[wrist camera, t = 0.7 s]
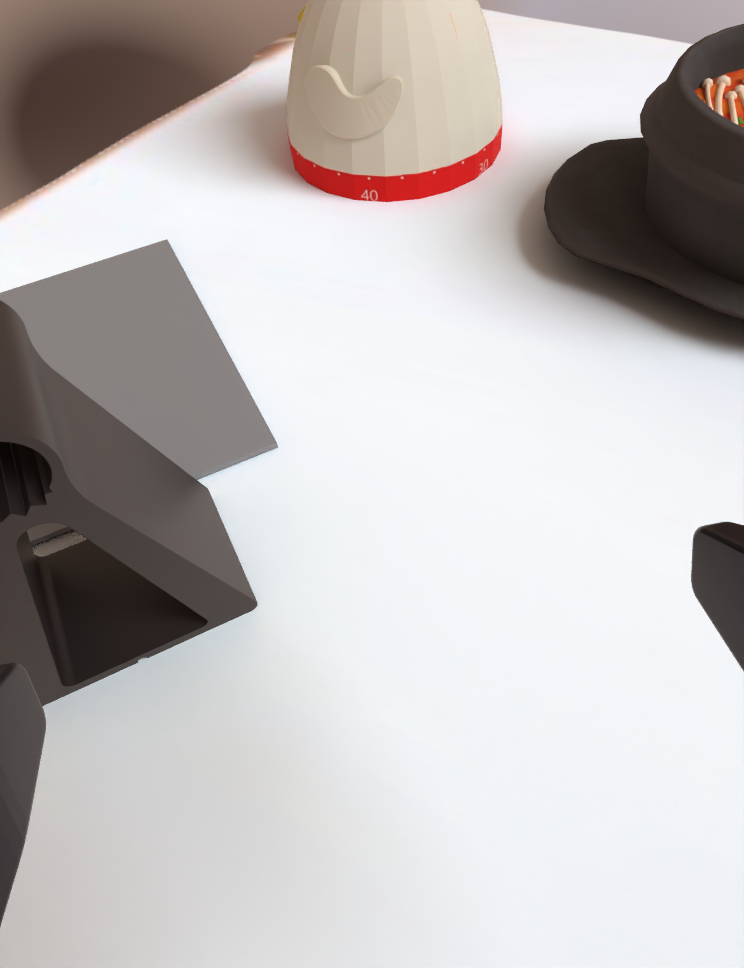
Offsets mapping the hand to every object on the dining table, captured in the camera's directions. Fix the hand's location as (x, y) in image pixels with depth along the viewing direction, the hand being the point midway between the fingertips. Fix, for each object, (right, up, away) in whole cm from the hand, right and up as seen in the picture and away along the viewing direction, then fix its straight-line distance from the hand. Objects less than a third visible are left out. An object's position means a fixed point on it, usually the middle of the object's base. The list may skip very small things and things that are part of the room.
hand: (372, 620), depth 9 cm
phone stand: (-10, -3, +18) cm, 20 cm away
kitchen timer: (+2, +24, +37) cm, 44 cm away
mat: (-15, +7, +25) cm, 30 cm away
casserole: (+22, +14, +28) cm, 38 cm away
